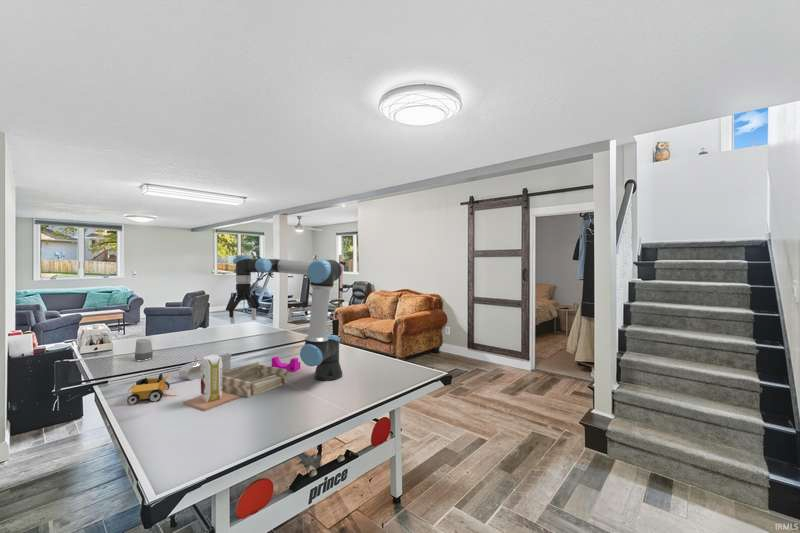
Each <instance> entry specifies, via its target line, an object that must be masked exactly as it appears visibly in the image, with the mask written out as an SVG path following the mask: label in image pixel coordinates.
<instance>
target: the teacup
mask: <svg viewBox="0 0 800 533" xmlns="http://www.w3.org/2000/svg"><path fill="white" fill-rule="evenodd" d="M217 356H218V357H221V359H222V372H225V371H228V370H231V357H232V354H230V353H224V354H217Z"/></svg>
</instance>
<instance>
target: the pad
mask: <svg viewBox="0 0 800 533" xmlns="http://www.w3.org/2000/svg"><path fill="white" fill-rule="evenodd" d="M238 399H240V396H239V395H235V394H232V393H228V392H224V391H222V397H221V399H219V400H215V401H211V402H205V400H203V399H202V396H201V395H200V396H196V397H193V398H190V399H188V400H184V401H183V402H182V404H183V405H185V406H188V407H192V408H194V409H197V410H201V411H203V412H206V411H209V410H211V409H213V408H217V407H220V406H222V405H224V404H227V403H230V402H232V401H235V400H238Z"/></svg>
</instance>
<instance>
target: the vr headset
mask: <svg viewBox="0 0 800 533" xmlns="http://www.w3.org/2000/svg"><path fill="white" fill-rule="evenodd" d="M193 358H194V361H192V362H189V363H186V364H184V365H182V366H181V367H180V368H179V370H178V377H179V379H183V380H190V381H192V380H197V379H201V359H199V360H198V359H197V356H194V357H193Z"/></svg>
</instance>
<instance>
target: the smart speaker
mask: <svg viewBox="0 0 800 533" xmlns="http://www.w3.org/2000/svg"><path fill="white" fill-rule="evenodd" d="M149 358H151V359H152V358H153V345H152V339H151V340H150V339H147V338H138V339H136V341H135V351H134V359H135V361H136V360H145V359H149Z"/></svg>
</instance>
